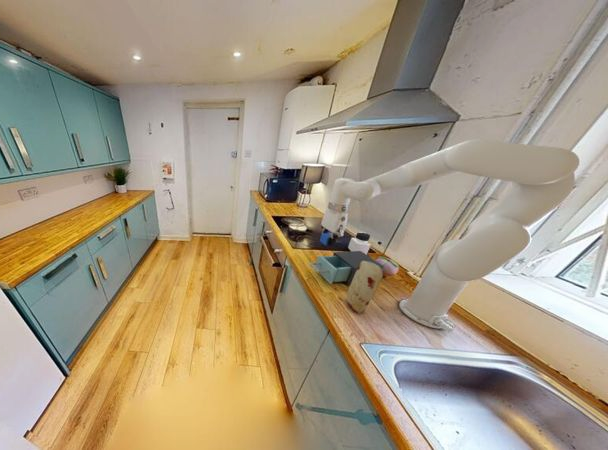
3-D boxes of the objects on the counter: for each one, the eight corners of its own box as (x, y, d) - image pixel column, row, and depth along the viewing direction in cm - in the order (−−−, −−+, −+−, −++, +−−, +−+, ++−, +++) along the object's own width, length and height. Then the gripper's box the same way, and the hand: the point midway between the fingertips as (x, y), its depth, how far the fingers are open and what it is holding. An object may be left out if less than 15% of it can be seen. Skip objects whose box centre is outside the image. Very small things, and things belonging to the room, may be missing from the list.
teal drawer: (318, 284, 88) (322, 270, 85) (303, 268, 98) (307, 255, 95) (356, 281, 90) (362, 268, 87) (338, 266, 100) (343, 253, 97)
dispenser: (347, 285, 89) (354, 267, 85) (328, 268, 101) (334, 252, 97) (375, 283, 91) (383, 266, 87) (354, 266, 103) (360, 251, 99)
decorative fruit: (397, 277, 95) (406, 260, 91) (389, 283, 91) (398, 265, 87) (374, 267, 103) (382, 250, 98) (366, 271, 99) (374, 254, 95)
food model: (340, 296, 83) (356, 256, 75) (357, 298, 82) (376, 258, 74) (350, 314, 74) (369, 272, 66) (370, 318, 73) (392, 275, 65)
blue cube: (334, 245, 93) (336, 236, 91) (325, 245, 93) (328, 237, 91) (327, 240, 97) (330, 232, 95) (319, 240, 97) (321, 232, 95)
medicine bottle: (366, 255, 113) (374, 237, 108) (352, 253, 114) (360, 235, 109) (360, 249, 119) (367, 231, 114) (347, 247, 120) (354, 230, 115)
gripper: (360, 213, 80) (347, 251, 88) (332, 201, 95) (322, 234, 103) (344, 213, 79) (331, 252, 87) (318, 201, 95) (309, 235, 102)
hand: (326, 242), depth 95 cm, fingers closed on blue cube, 4 cm apart
